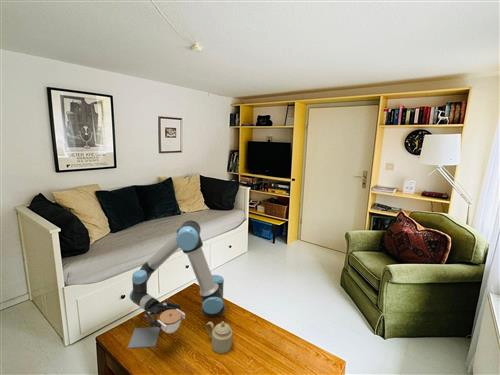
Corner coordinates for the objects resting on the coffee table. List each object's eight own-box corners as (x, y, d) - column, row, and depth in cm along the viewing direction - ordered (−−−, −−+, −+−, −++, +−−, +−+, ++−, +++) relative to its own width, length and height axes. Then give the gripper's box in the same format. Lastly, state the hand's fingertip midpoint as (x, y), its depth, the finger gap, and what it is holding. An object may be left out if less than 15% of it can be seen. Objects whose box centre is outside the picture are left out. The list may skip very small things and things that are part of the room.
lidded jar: (158, 324, 139) (158, 308, 137) (179, 320, 143) (179, 304, 141) (160, 339, 129) (160, 322, 127) (182, 333, 133) (182, 317, 131)
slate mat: (160, 327, 152) (160, 326, 152) (155, 346, 139) (155, 345, 139) (134, 329, 150) (134, 328, 150) (127, 348, 137) (127, 347, 136)
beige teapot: (202, 352, 137) (203, 327, 134) (206, 336, 148) (207, 313, 145) (230, 354, 137) (232, 329, 134) (232, 338, 148) (233, 314, 145)
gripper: (167, 300, 155) (193, 317, 142) (130, 321, 137) (155, 342, 124) (167, 289, 154) (193, 304, 141) (129, 308, 135) (155, 328, 122)
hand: (175, 322), depth 132 cm, fingers closed on lidded jar, 11 cm apart
